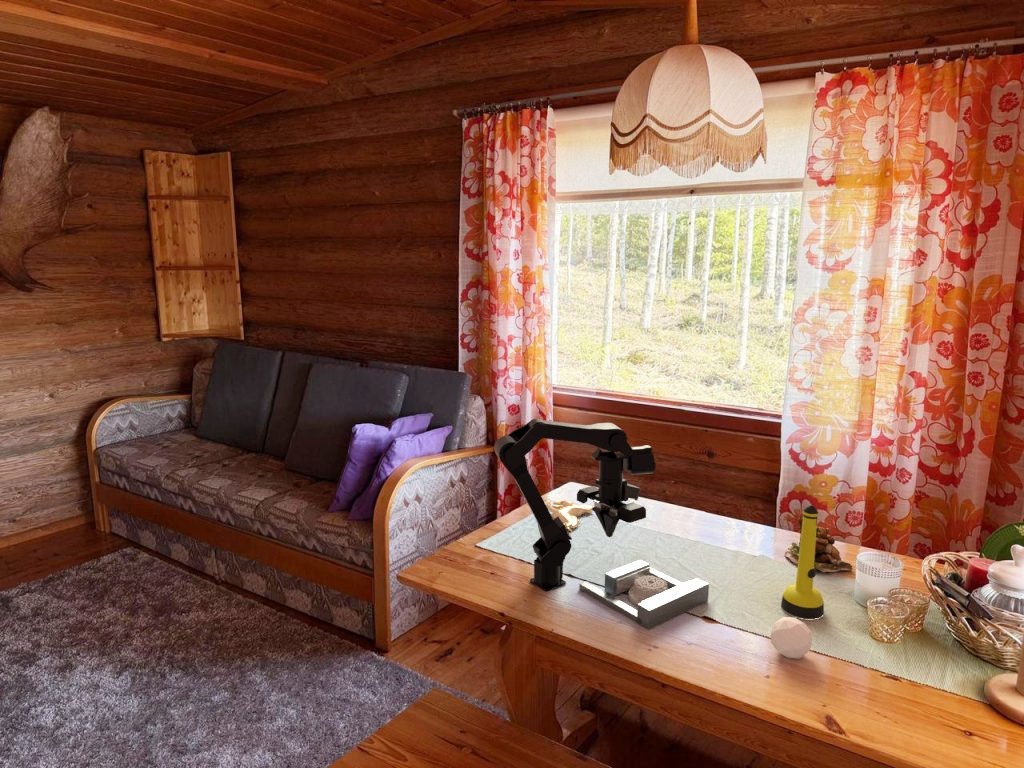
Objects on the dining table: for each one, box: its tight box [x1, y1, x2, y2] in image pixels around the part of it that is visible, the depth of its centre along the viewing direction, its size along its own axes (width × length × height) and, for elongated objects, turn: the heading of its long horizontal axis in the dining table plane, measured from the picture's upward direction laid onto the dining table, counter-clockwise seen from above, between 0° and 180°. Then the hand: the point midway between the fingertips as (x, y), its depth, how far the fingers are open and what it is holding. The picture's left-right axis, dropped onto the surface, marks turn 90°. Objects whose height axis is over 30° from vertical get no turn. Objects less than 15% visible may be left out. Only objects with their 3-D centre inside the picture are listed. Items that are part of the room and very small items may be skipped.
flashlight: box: [780, 504, 825, 619], centre depth 150 cm, size 25×9×9 cm
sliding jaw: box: [604, 559, 651, 597], centre depth 162 cm, size 12×4×5 cm, turn 127°
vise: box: [579, 567, 710, 631], centre depth 159 cm, size 20×22×4 cm
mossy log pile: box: [783, 517, 854, 573], centre depth 175 cm, size 14×15×12 cm
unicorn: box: [545, 499, 594, 533], centre depth 205 cm, size 20×4×17 cm
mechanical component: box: [628, 575, 669, 607], centre depth 157 cm, size 10×4×10 cm
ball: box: [770, 616, 813, 659], centre depth 135 cm, size 8×8×8 cm
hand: (609, 536), depth 166 cm, fingers closed
